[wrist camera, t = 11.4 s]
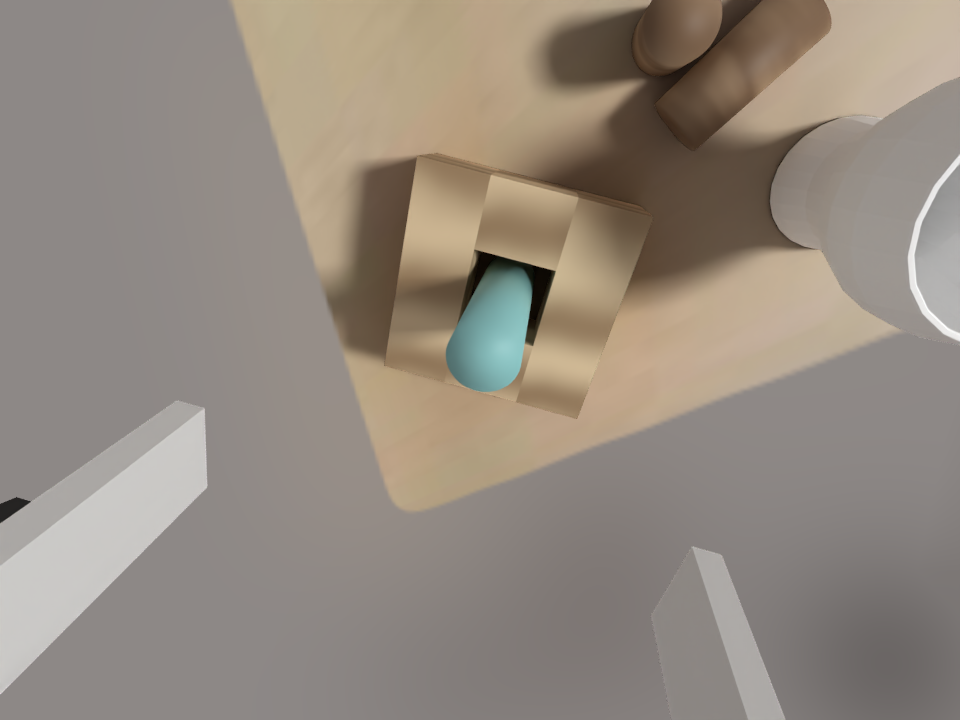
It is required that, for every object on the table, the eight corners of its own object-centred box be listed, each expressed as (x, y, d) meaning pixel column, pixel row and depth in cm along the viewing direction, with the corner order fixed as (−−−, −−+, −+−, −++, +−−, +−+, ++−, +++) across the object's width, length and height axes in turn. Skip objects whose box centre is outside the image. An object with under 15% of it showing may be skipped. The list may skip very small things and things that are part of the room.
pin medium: (677, 141, 31) (798, 32, 28) (703, 158, 28) (840, 38, 25) (647, 97, 29) (771, -24, 26) (671, 110, 26) (814, -25, 23)
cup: (728, 267, 33) (847, 358, 19) (767, 88, 28) (959, 43, 15) (901, 273, 31) (1160, 376, 18) (971, 86, 27) (1388, 34, 13)
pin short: (644, -4, 27) (660, -32, 23) (707, 10, 27) (735, -15, 23) (622, 68, 29) (633, 55, 24) (681, 82, 29) (703, 72, 24)
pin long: (491, 247, 34) (452, 314, 22) (540, 259, 34) (529, 332, 22) (481, 294, 36) (440, 381, 24) (528, 306, 36) (511, 399, 23)
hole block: (436, 153, 32) (417, 155, 28) (640, 206, 32) (654, 217, 27) (404, 339, 39) (384, 365, 34) (574, 385, 38) (577, 419, 34)
